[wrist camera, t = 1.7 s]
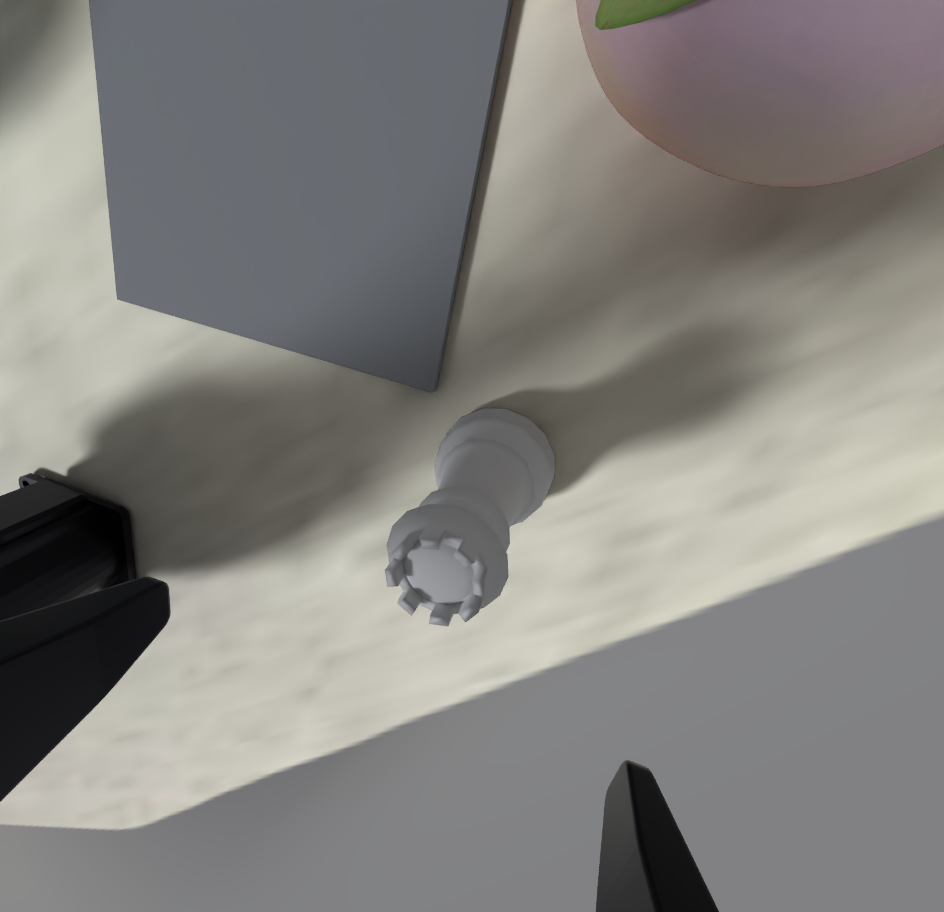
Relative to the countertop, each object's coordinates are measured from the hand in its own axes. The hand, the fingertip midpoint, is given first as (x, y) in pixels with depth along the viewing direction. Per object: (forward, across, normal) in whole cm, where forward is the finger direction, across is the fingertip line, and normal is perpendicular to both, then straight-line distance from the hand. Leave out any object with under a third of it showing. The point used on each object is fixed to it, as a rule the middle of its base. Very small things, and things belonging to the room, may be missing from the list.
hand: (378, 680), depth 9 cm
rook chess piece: (+11, 0, 0) cm, 11 cm away
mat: (+11, +10, -10) cm, 18 cm away
